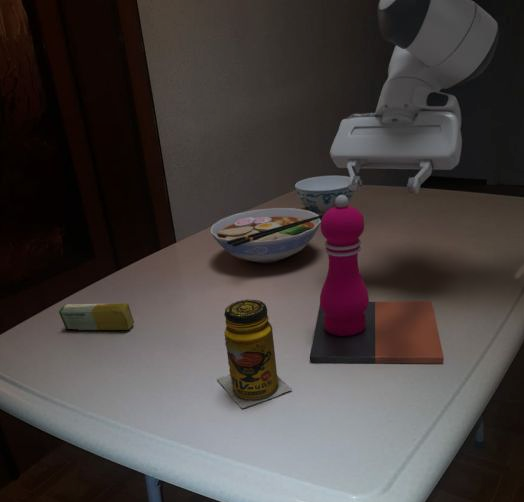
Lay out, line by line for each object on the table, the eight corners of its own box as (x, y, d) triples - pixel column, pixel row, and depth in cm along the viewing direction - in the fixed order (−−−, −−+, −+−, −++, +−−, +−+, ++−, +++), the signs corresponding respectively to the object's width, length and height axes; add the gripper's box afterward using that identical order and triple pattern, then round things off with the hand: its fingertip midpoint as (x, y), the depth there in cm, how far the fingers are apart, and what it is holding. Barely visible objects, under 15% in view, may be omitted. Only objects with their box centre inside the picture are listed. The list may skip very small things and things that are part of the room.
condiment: (242, 409, 70) (230, 324, 64) (216, 379, 77) (204, 300, 71) (292, 391, 73) (286, 308, 67) (263, 363, 79) (255, 286, 73)
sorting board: (431, 306, 90) (431, 300, 90) (443, 363, 75) (443, 357, 74) (320, 307, 94) (320, 302, 93) (310, 362, 78) (309, 356, 78)
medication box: (65, 331, 95) (57, 311, 93) (72, 323, 97) (64, 303, 95) (129, 330, 92) (122, 310, 90) (135, 321, 95) (129, 301, 92)
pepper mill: (354, 342, 80) (351, 204, 71) (311, 331, 84) (304, 199, 75) (377, 322, 85) (378, 190, 75) (336, 312, 89) (332, 186, 79)
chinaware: (365, 215, 137) (365, 184, 133) (308, 225, 134) (306, 193, 130) (342, 202, 150) (341, 172, 146) (289, 211, 147) (287, 181, 143)
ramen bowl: (284, 231, 132) (281, 197, 128) (349, 254, 115) (348, 215, 111) (191, 260, 120) (185, 223, 116) (248, 289, 103) (243, 247, 99)
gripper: (337, 102, 91) (314, 177, 88) (467, 96, 81) (444, 180, 78) (349, 126, 96) (327, 197, 94) (471, 123, 86) (451, 203, 84)
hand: (382, 190), depth 86 cm, fingers open, 8 cm apart
